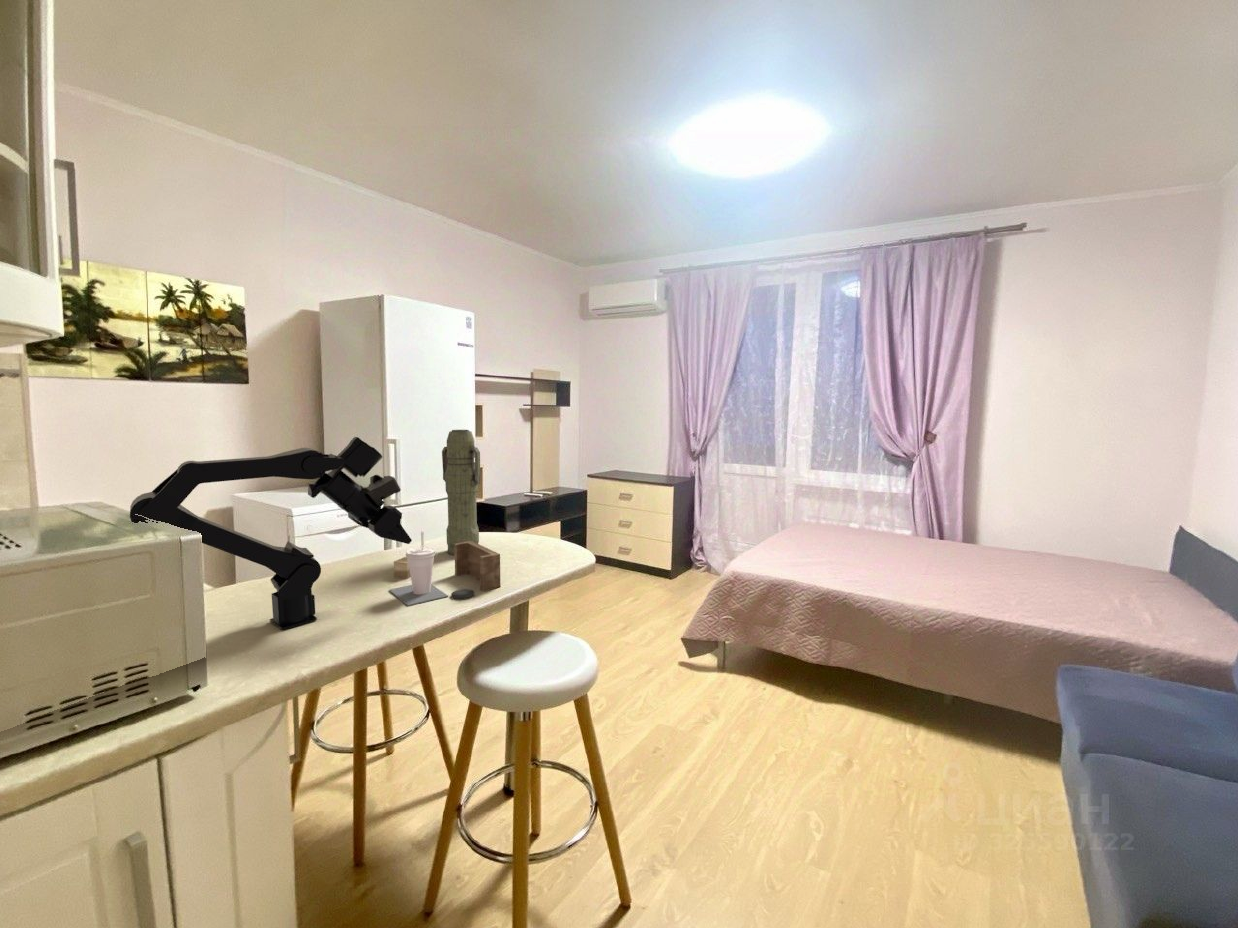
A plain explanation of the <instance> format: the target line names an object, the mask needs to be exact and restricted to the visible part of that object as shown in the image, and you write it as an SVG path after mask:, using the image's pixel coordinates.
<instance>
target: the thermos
mask: <svg viewBox="0 0 1238 928" xmlns="http://www.w3.org/2000/svg"><path fill="white" fill-rule="evenodd" d="M475 444H476V443H475V437H474V435H473V432H472V431H470V430H469V429H451V431H449V432H448V435H447V438H446V446H444V447H443V449H442V450H441V459H442V480H443V481H444V482H445V493H446V495H447V528H446V545H447V554H448V555H450V556H455V552H454V544H456V543H462V542H468V541H473V542H475V543H477V544H479V542H480V531H479V528H480V527H479V526H478V523H477V521H478V519H477V517H478V516H477V513H478V512H477V493H478V491H479V487H478V485H479V484H481V451H480V450H479V448H478V447H476V445H475Z"/></svg>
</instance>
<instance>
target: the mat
mask: <svg viewBox="0 0 1238 928" xmlns="http://www.w3.org/2000/svg"><path fill="white" fill-rule="evenodd" d="M388 591H389V592H390V594H391V595H394V596H395V597H396V598H397V599H398V600H400V601H401V602H402V603H403V604H404V605H406V606H407V607H411V606H415V605H418V604H422V603H423V604H424V603H428V602H432V601H437V600H440V599H446V598H449V595H448V594H446V593H445V592H443V591H442V590H440V589H439V588H437V586H434V585H433V584H432V583H431V590H430V592H429V593H427V594H422V595H417V594H414V593H413V587H412V584H409V585H403V586H399V587H395V588H391V589H388Z"/></svg>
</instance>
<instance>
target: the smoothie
mask: <svg viewBox="0 0 1238 928" xmlns="http://www.w3.org/2000/svg"><path fill="white" fill-rule="evenodd" d="M424 534H425V533H424V531H421V532H420V536H421V537H420V538H421V539H420V541H421V543H420V544H421V546H419V547H413V548H409V549H407V550H406V552H405V557H407V558H408V564H409V570H410V576H411V577H410V581H411V585H412V587H413V593H414V594H417V595H422V594H427V593H429V592H430V590H431V584H432V578H433V568H434V561H435V558H434V557H435V555H436V548H434V547H429V546H425V535H424Z"/></svg>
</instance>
